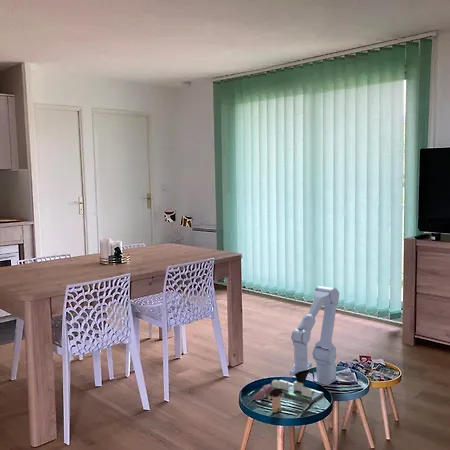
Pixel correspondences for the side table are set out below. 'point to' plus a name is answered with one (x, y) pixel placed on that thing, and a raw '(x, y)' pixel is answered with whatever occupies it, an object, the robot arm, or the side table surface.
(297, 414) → the side table surface
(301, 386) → the block
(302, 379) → the robot arm
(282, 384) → the block
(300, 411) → the side table surface
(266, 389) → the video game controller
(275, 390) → the grandmother figurine
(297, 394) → the breaker panel
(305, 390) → the block
